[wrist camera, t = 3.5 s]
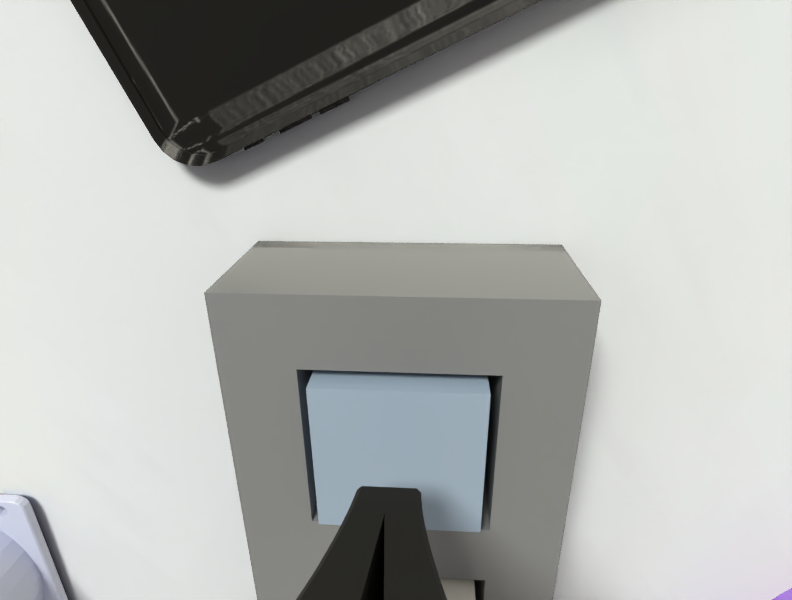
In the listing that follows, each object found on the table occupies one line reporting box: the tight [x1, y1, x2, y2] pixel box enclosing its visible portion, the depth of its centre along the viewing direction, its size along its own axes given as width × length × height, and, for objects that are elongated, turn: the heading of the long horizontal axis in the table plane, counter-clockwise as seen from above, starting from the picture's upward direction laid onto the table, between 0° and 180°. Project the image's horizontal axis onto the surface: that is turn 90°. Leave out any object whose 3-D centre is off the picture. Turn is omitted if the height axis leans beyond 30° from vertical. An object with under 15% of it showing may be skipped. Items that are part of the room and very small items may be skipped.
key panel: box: [204, 241, 601, 600], centre depth 18 cm, size 9×23×4 cm, turn 1°
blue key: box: [306, 370, 491, 532], centre depth 15 cm, size 4×4×3 cm
